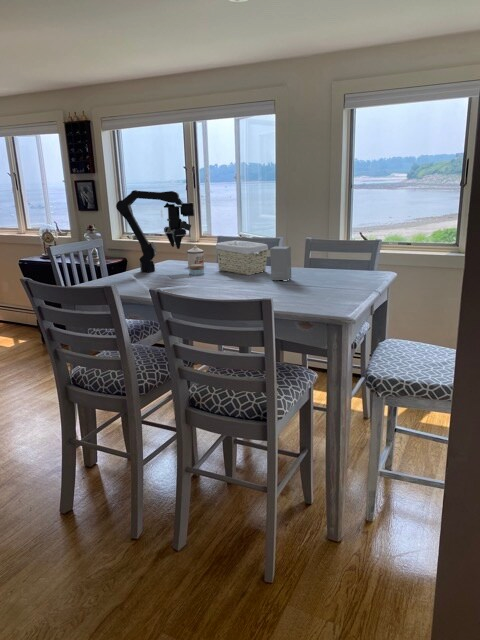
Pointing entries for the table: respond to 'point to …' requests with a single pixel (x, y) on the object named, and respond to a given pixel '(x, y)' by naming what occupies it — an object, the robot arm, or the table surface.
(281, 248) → the skincare box
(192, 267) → the lid
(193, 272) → the bowl
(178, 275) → the mat
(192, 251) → the teacup with lid
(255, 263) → the storage basket
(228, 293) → the table surface
